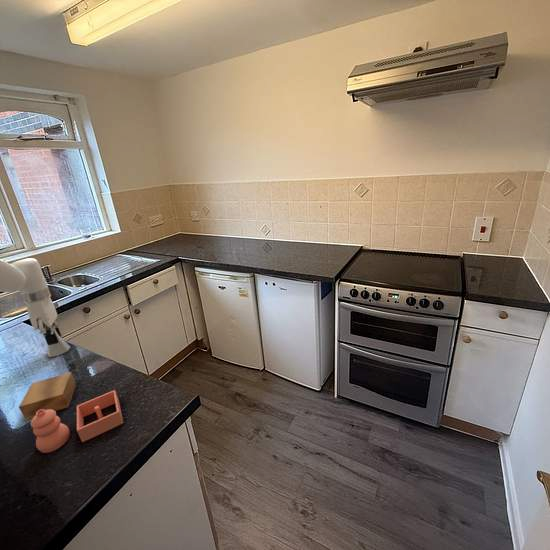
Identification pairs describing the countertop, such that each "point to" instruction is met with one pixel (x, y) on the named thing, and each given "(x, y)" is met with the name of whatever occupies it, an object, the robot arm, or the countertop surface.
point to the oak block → (48, 395)
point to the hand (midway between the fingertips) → (54, 340)
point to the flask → (57, 346)
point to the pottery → (57, 434)
